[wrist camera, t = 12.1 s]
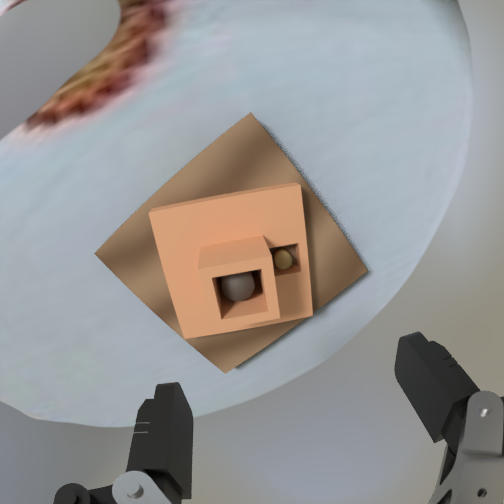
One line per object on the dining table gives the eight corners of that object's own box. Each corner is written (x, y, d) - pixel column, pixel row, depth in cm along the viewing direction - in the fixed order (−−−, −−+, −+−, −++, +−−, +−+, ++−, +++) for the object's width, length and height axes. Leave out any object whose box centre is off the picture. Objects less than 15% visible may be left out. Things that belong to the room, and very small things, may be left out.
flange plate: (185, 329, 30) (180, 370, 24) (152, 208, 25) (134, 229, 20) (308, 307, 30) (327, 344, 24) (296, 182, 26) (317, 196, 20)
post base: (101, 245, 28) (75, 274, 22) (248, 113, 25) (257, 107, 19) (224, 361, 34) (227, 403, 28) (359, 262, 31) (388, 291, 25)
